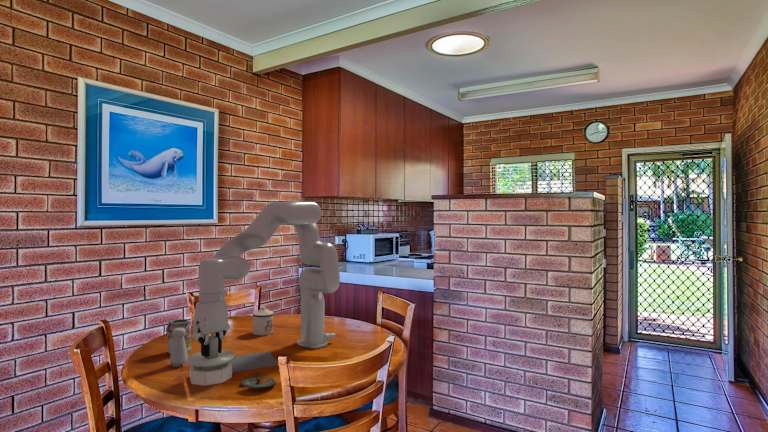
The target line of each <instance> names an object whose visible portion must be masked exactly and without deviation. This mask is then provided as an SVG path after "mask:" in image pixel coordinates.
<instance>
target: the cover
mask: <svg viewBox="0 0 768 432" xmlns="http://www.w3.org/2000/svg"><path fill="white" fill-rule="evenodd" d="M208 344H209V357H204V356H202V355H201V351H198V352H196V353H193V354H191V355H190V356H189V355H188V359H187V362H186V363H187V364H188V365H189V366H191V365H192V366H196V367H210V366H217V365H222V364H225V363H228V362H230V361H232V360H233V359H234V356H236V355H235V353H234V352H233V351H231V350H227V349H222V352H221V353H218V337H217V336H215V335H212V336H211V335H210V336H209V339H208Z"/></svg>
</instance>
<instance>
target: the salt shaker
mask: <svg viewBox="0 0 768 432" xmlns="http://www.w3.org/2000/svg"><path fill="white" fill-rule="evenodd" d="M185 333H186V330H185V329H184V328H175V329H174V330H173V331H172V335H173V336H174V341H173V346H172V351H171V355H170V354H169V356H170V357H169V362H170V364H171V366H172V367H173V368H181V367H184V364H186V363H188V362H187V359H188V357H189V355H188V352H187V349H186V344H185V339H184V335H185Z"/></svg>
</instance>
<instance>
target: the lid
mask: <svg viewBox="0 0 768 432" xmlns="http://www.w3.org/2000/svg"><path fill="white" fill-rule="evenodd" d="M260 381H265V382H263V383H261V382H260ZM276 382H277V381H276V380H275V379H274V378H271V377H266V376H265V377H264V376H262V375H261V373H260V372H256V377H248V378H246V379H243V380H241V381H240V385H241V386H242V387H244V388H248V389H251V390H258V389H266V388H269V387H272V386H275V385H276Z"/></svg>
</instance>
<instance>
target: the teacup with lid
mask: <svg viewBox="0 0 768 432" xmlns="http://www.w3.org/2000/svg"><path fill="white" fill-rule="evenodd" d="M274 315H275V313H274V311H272V310H269V309H267V308H266V306H261V307H260V308H259V310H256V311H253V313H252V317H253V318H252V334H253V335H255V336H258V337H259V336H269V335H272V334H273V333H274Z"/></svg>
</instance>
